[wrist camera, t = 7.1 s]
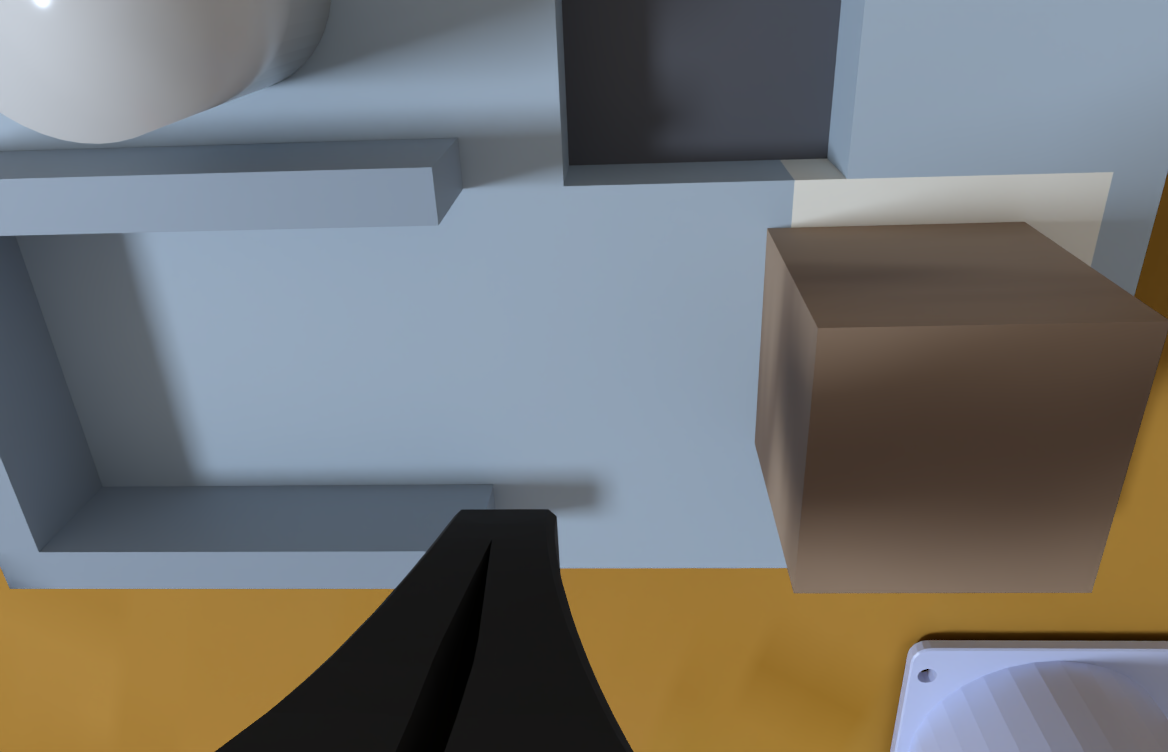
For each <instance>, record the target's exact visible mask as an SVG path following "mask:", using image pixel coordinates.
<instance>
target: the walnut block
mask: <svg viewBox="0 0 1168 752" xmlns="http://www.w3.org/2000/svg"><path fill="white" fill-rule="evenodd" d="M1167 332H1168V319H1166V318H1165V317H1163V316H1162V315H1161V314H1159V313H1158V312H1156V311H1155V310H1153V309H1152V308H1150V307H1149V306H1147V305H1146V304H1144V303H1143V302H1141V301H1140V300H1139V299H1137V298H1136V297H1134V296H1133V295H1131V294H1130V293H1128V292H1127V291H1125V290H1124V289H1122V288H1121V287H1119V286H1118V285H1117V284H1115V283H1114V282H1112V281H1111V280H1109V279H1108V278H1106V277H1105V276H1103V275H1102V274H1100V273H1099V272H1098V271H1096V270H1095V269H1093V268H1092V267H1090V266H1089V265H1087V264H1086V263H1084V262H1083V261H1081V260H1080V259H1078V258H1077V257H1076V256H1074V255H1073V254H1071V253H1070V252H1068V251H1067V250H1065V249H1064V248H1062V247H1061V246H1059V245H1058V244H1056V243H1055V242H1054V241H1052V240H1051V239H1049V238H1048V237H1046V236H1045V235H1043V234H1042V233H1040V232H1039V231H1037V230H1036V229H1035V228H1033V227H1032V226H1030V225H1029V224H1027V223H1026V222H995V223H956V224H917V225H878V226H839V227H801V228H767V239H766V256H765V274H764V291H763V308H762V325H761V342H760V359H759V377H758V394H757V411H756V428H755V447H756V451H757V454H758V458H759V462H760V466H761V470H762V473H763V477H764V481H765V485H766V489H767V493H768V496H769V500H770V504H771V508H772V512H773V515H774V519H775V523H776V527H777V531H778V534H779V538H780V542H781V546H782V550H783V554H784V557H785V561H786V565H787V569H788V573H789V576H790V580H791V584H792V588H793V592H794V593H1092V589H1093V586H1094V583H1095V579H1096V576H1097V572H1098V569H1099V565H1100V562H1101V559H1102V555H1103V552H1104V548H1105V545H1106V541H1107V538H1108V535H1109V531H1110V528H1111V524H1112V521H1113V517H1114V514H1115V510H1116V507H1117V504H1118V500H1119V497H1120V493H1121V490H1122V486H1123V483H1124V480H1125V476H1126V473H1127V469H1128V466H1129V462H1130V459H1131V456H1132V452H1133V449H1134V445H1135V442H1136V438H1137V435H1138V432H1139V428H1140V425H1141V421H1142V418H1143V414H1144V411H1145V408H1146V404H1147V401H1148V397H1149V394H1150V390H1151V387H1152V384H1153V380H1154V377H1155V373H1156V370H1157V366H1158V363H1159V360H1160V356H1161V353H1162V349H1163V346H1164V342H1165V339H1166V336H1167Z"/></svg>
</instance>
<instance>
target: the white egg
mask: <svg viewBox="0 0 1168 752" xmlns="http://www.w3.org/2000/svg"><path fill="white" fill-rule="evenodd" d="M330 5H331V0H0V113H2V114H3V115H5V116H6V117H8V118H10V119H12V120H14V121H15V122H17V123H19V124H21V125H23V126H25V127H27V128H29V129H32V130H34V131H37V132H39V133H41V134H44V135H47V136H51V137H54V138H57V139H61V140H66V141H72V142H78V143H91V144H103V143H113V142H120V141H124V140H128V139H132V138H135V137H138V136H141V135H143V134H146V133H148V132H151V131H154V130H156V129H159V128H161V127H164V126H167V125H169V124H172V123H174V122H177V121H180V120H182V119H185V118H187V117H190V116H193V115H195V114H198V113H200V112H203V111H206V110H208V109H211V108H213V107H216V106H219V105H221V104H224V103H227V102H229V101H232V100H234V99H237V98H240V97H242V96H245V95H247V94H250V93H253V92H255V91H258V90H260V89H263V88H266V87H268V86H271V85H273V84H275V83H278V82H280V81H282V80H284V79H286V78H287V77H289V76H290V75H292V74H294V73H295V72H296V71H297V70H298V69H299V68H301V67H302V66H303V65H304V64H305V63H306V61H307V60H308V59H309V58H310V57H311V55H312V54H313V52H314V51H315V49H316V48H317V46H318V44H319V43H320V40H321V38H322V36H323V33H324V31H325V28H326V24H327V21H328V17H329V12H330Z"/></svg>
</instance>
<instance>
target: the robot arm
mask: <svg viewBox="0 0 1168 752" xmlns="http://www.w3.org/2000/svg"><path fill="white" fill-rule="evenodd" d="M925 669H929V670H928V671H925V672H921V671H922V670H925ZM215 752H633V750H632V749H631V747H630V745H629V743H628V741H627V740H626V738H625V736H624V734H623V732H622V730H621V728H620V726H619V725H618V723H617V721H616V719H615V717H614V715H613V713H612V711H611V709H610V707H609V705H608V703H607V701H606V699H605V697H604V695H603V693H602V691H601V689H600V686H599V684H598V682H597V680H596V677H595V675H594V673H593V671H592V668H591V666H590V663H589V661H588V659H587V656H586V653H585V651H584V648H583V646H582V643H581V640H580V638H579V635H578V633H577V630H576V627H575V624H574V621H573V618H572V615H571V611H570V608H569V605H568V601H567V598H566V594H565V591H564V587H563V584H562V580H561V575H560V560H559V544H558V527H557V516H556V515H555V514H553V513H552V512H551V511H550V510H549V509H461V510H460V511H459V512H458V513H457V514H456V515H455V516H454V517H453V518H452V520H451V521H450V522H449V524H448V525H447V526H446V527H445V529H444V530H443V531H442V532H441V534H440V535H439V536H438V538H437V539H436V540H435V541H434V543H433V544H432V545H431V546H430V548H429V549H428V550H427V551H426V553H425V554H424V555H423V556H422V557H421V559H420V560H419V561H418V562H417V564H416V565H415V566H414V567H413V568H412V570H411V571H410V572H409V573H408V574H407V575H406V577H405V578H404V579H403V580H402V581H401V582H400V584H399V585H398V586H397V587H396V588H395V589H394V590H393V592H392V593H391V594H390V595H389V596H388V597H387V598H386V600H385V601H384V602H383V603H382V604H381V605H380V606H379V607H378V609H377V610H376V611H375V612H374V613H373V614H372V615H371V616H370V617H369V618H368V619H367V620H366V621H365V622H364V623H363V624H362V625H361V626H360V627H359V628H358V629H357V630H356V631H355V632H354V633H353V634H352V636H351V637H350V638H349V639H348V640H347V641H346V642H345V643H344V644H343V645H342V646H341V647H340V648H339V649H338V650H337V651H336V652H335V653H334V654H333V655H332V656H331V657H330V658H329V659H328V660H326V661H325V662H324V663H323V664H322V665H321V666H320V667H319V668H318V669H317V670H316V671H315V672H314V673H313V674H311V675H310V676H309V677H308V678H307V679H306V680H305V681H304V682H303V683H301V684H300V685H299V686H298V687H297V688H296V689H295V690H293V691H292V692H291V693H290V694H289V695H288V696H286V697H285V698H284V699H283V700H282V701H281V702H279V703H278V704H277V705H276V706H275V707H273V708H272V709H271V710H270V711H269V712H267V713H266V714H265V715H263V716H262V717H261V718H259V719H258V720H257V721H255V722H254V723H253V724H251V725H250V726H249V727H247V728H246V729H245V730H243V731H242V732H241V733H239V734H238V735H237V736H235V737H234V738H233V739H231V740H230V741H229V742H227V743H226V744H224V745H223V746H222V747H220V748H219V749H218V750H216V751H215ZM890 752H1168V641H1020V640H926V641H920V642H918V643H916V644H914V645H913V646H912V647H911V648H910V650H909V652H908V655H907V661H906V666H905V672H904V677H903V683H902V689H901V694H900V700H899V705H898V711H897V717H896V722H895V728H894V733H893V739H892V745H891V750H890Z"/></svg>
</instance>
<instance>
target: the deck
mask: <svg viewBox="0 0 1168 752" xmlns="http://www.w3.org/2000/svg"><path fill="white" fill-rule="evenodd" d="M1167 173H1168V0H331V5H330V12H329V17H328V21H327V24H326V28H325V31H324V33H323V36H322V38H321V40H320V43H319V44H318V46H317V48H316V49H315V51H314V52H313V54H312V55H311V57H310V58H309V59H308V60H307V61H306V63H305V64H304V65H303V66H302V67H301V68H299V69H298V70H297V71H296V72H295V73H294V74H292V75H290V76H289V77H287V78H286V79H284V80H282V81H280V82H278V83H275V84H273V85H271V86H268V87H266V88H263V89H260V90H258V91H255V92H253V93H250V94H247V95H245V96H242V97H240V98H237V99H234V100H232V101H229V102H227V103H224V104H221V105H219V106H216V107H213V108H211V109H208V110H206V111H203V112H200V113H198V114H195V115H193V116H190V117H187V118H185V119H182V120H180V121H177V122H174V123H172V124H169V125H167V126H164V127H161V128H159V129H156V130H154V131H151V132H148V133H146V134H143V135H141V136H138V137H135V138H132V139H128V140H124V141H120V142H113V143H103V144H91V143H78V142H72V141H66V140H61V139H57V138H54V137H51V136H47V135H44V134H41V133H39V132H37V131H34V130H32V129H29V128H27V127H25V126H23V125H21V124H19V123H17V122H15V121H14V120H12V119H10V118H8V117H6V116H5V115H3V114H2V113H0V567H1V569H2V571H3V574H4V576H5V578H6V581H7V583H8V585H9V588H10V589H395V588H396V587H397V586H398V585H399V584H400V582H401V581H402V580H403V579H404V578H405V577H406V575H407V574H408V573H409V572H410V571H411V570H412V568H413V567H414V566H415V565H416V564H417V562H418V561H419V560H420V559H421V557H422V556H423V555H424V554H425V553H426V551H427V550H428V549H429V548H430V546H431V545H432V544H433V543H434V541H435V540H436V539H437V538H438V536H439V535H440V534H441V532H442V531H443V530H444V529H445V527H446V526H447V525H448V524H449V522H450V521H451V520H452V518H453V517H454V516H455V515H456V514H457V513H458V512H459V511H460V510H461V509H549V510H550V511H551V512H552V513H553V514H555V515H556V516H557V527H558V544H559V560H560V568H787V565H786V561H785V557H784V554H783V550H782V546H781V542H780V538H779V534H778V531H777V527H776V523H775V519H774V515H773V512H772V508H771V504H770V500H769V496H768V493H767V489H766V485H765V481H764V477H763V473H762V470H761V466H760V462H759V458H758V454H757V451H756V447H755V428H756V411H757V394H758V377H759V359H760V342H761V325H762V308H763V291H764V274H765V256H766V239H767V228H801V227H839V226H878V225H917V224H956V223H995V222H1026V223H1027V224H1029V225H1030V226H1032V227H1033V228H1035V229H1036V230H1037V231H1039V232H1040V233H1042V234H1043V235H1045V236H1046V237H1048V238H1049V239H1051V240H1052V241H1054V242H1055V243H1056V244H1058V245H1059V246H1061V247H1062V248H1064V249H1065V250H1067V251H1068V252H1070V253H1071V254H1073V255H1074V256H1076V257H1077V258H1078V259H1080V260H1081V261H1083V262H1084V263H1086V264H1087V265H1089V266H1090V267H1092V268H1093V269H1095V270H1096V271H1098V272H1099V273H1100V274H1102V275H1103V276H1105V277H1106V278H1108V279H1109V280H1111V281H1112V282H1114V283H1115V284H1117V285H1118V286H1119V287H1121V288H1122V289H1124V290H1125V291H1127V292H1128V293H1130V294H1131V295H1133V296H1134V295H1135V291H1136V287H1137V284H1138V280H1139V276H1140V273H1141V269H1142V265H1143V261H1144V258H1145V254H1146V250H1147V247H1148V243H1149V239H1150V235H1151V232H1152V228H1153V224H1154V221H1155V217H1156V213H1157V210H1158V206H1159V202H1160V198H1161V195H1162V191H1163V187H1164V184H1165V180H1166V176H1167Z"/></svg>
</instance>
